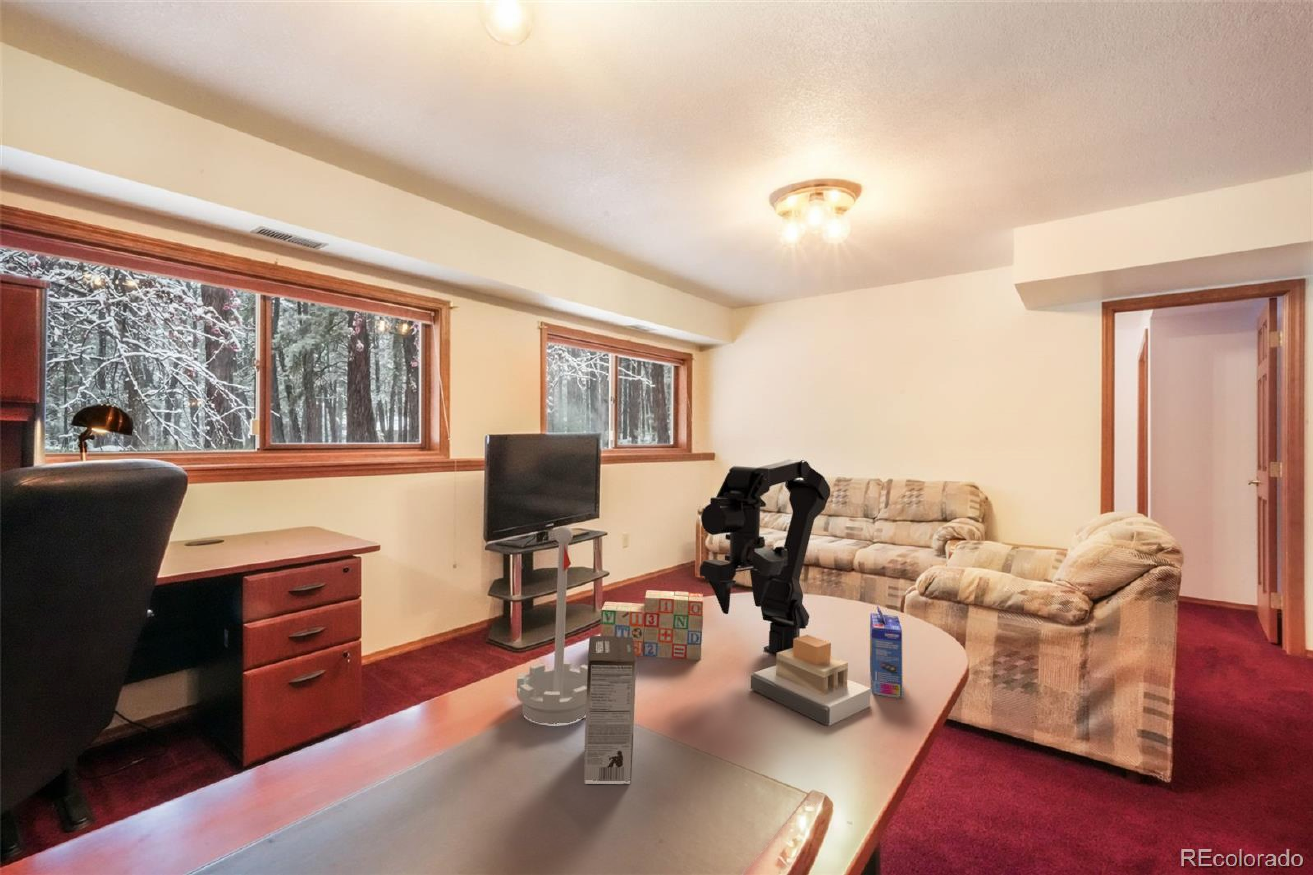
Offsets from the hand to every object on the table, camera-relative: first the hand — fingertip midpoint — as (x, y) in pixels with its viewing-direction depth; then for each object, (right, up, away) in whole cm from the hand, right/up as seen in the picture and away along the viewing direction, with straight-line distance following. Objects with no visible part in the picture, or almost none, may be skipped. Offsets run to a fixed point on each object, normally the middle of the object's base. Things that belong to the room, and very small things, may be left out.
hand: (742, 609), depth 110 cm
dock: (+10, -12, -11) cm, 19 cm away
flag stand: (-33, -11, -18) cm, 39 cm away
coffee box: (-24, -11, -34) cm, 43 cm away
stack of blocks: (-18, -12, +9) cm, 23 cm away
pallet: (+11, -9, -11) cm, 18 cm away
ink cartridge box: (+26, -13, -5) cm, 30 cm away
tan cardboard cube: (+11, -5, -10) cm, 16 cm away
